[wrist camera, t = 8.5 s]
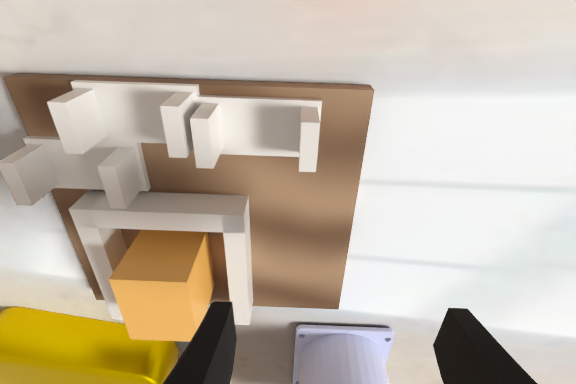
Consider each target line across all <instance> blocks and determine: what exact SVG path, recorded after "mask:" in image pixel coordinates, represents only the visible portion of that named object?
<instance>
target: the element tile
mask: <svg viewBox="0 0 576 384" xmlns="http://www.w3.org/2000/svg"><path fill="white" fill-rule="evenodd" d="M178 352H179V349H178V348H177V347H176V345H175V341H160V340H136V339H130V336H129V333H128V331H127V328H126V325H125V324H120V323H114V322H108V321H102V320H96V319H90V318H84V317H78V316H72V315H66V314H60V313H54V312H48V311H42V310H36V309H30V308H25V307H8V308H6V309H4V310H2V311H1V312H0V384H163V382H164V381H165V379H166V378H167V376H168V375H169V374H170V372H171V371H172V369H173V368H174V366H175V365H176V363H177V362H178Z"/></svg>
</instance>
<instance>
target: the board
mask: <svg viewBox="0 0 576 384" xmlns="http://www.w3.org/2000/svg"><path fill="white" fill-rule="evenodd" d="M4 79H5V82H6V84H7V87H8V89H9V91H10V94H11V96H12V98H13V101H14V103H15V106H16V108H17V110H18V113H19V115H20V118H21V120H22V122H23V125H24V127H25V130H26V132H27V134H28V136H53V137H59V134H58V132H57V129H56V126H55V123H54V121H53V118H52V115H51V113H50V110H49V107H48V104H47V102H48V101H50V100H52V99H55V98H57V97H59V96H61V95H63V94H66V93H68V92H70V91H72V90H73V89H72V85H71V82H72V81H74V80H88V81H117V82H146V83H176V84H199V93H200V95H224V96H253V97H282V98H311V99H322V107H321V120H320V132H319V144H318V156H317V166H316V172H299V157H284V156H256V155H228V154H220V156H219V158H218V160H217V162H216V164H215V166H214V169H210V168H196V161H195V154H194V147H193V149H192V150H191V152H190V153H189V155H188V156H187V158H171V157H169V154H168V149H167V144H163V143H141V148H142V152H143V156H144V161H145V165H146V170H147V174H148V178H149V183H150V187H151V188H150V189H149V191H140V192H163V193H190V194H218V195H245V196H249V217H250V240H251V263H252V286H253V306H270V307H295V308H321V309H338V308H339V302H340V296H341V290H342V283H343V277H344V271H345V265H346V259H347V253H348V247H349V241H350V235H351V229H352V222H353V216H354V210H355V204H356V198H357V192H358V186H359V180H360V174H361V168H362V161H363V155H364V149H365V143H366V137H367V131H368V125H369V119H370V113H371V106H372V100H373V94H374V89H373V88H372V87H371V85H352V84H323V83H293V82H264V81H234V80H205V79H175V78H146V77H117V76H87V75H58V74H28V73H18V74H14V75H11V76H8V77H4ZM88 190H99V189H71V188H53V189H52V190H51V192H52V194H53V197H54V199H55V201H56V204H57V206H58V209H59V211H60V213H61V216H62V218H63V221H64V223H65V225H66V228H67V230H68V233H69V235H70V237H71V240H72V242H73V245H74V247H75V249H76V252H77V254H78V257H79V259H80V261H81V264H82V266H83V269H84V271H85V273H86V276H87V278H88V281H89V283H90V285H91V288H92V290H93V293H94V295H95V297H96V300H105V299H104V297H103V294H102V292H101V289H100V287H99V284H98V282H97V279H96V277H95V274H94V272H93V269H92V267H91V264H90V262H89V259H88V257H87V254H86V252H85V249H84V247H83V244H82V242H81V239H80V237H79V234H78V232H77V229H76V227H75V224H74V221H73V219H72V216H71V214H70V211H69V208H70V207H71V206H73V205H74V204H75V203H76V202H77V201H78V200H79V199H80V198H81V197H82V196H83V195H84V194H85V193H86V192H87V191H88ZM121 231H122V234H123V237H124V240H125V244H126V247H127V250H128V249H129V247H130V246H131V244H132V243H133V241H134V240H135V238H136V237H137V235H138V234H139V232H140V231H141V229H121ZM208 235H209V243H210V251H211V259H212V267H213V274H214V282H215V284H214V288H213V291H212V295H211V299H210V302H209V304H211V303H213V302H214V301H221V302H230V297H229V287H228V277H227V267H226V257H225V247H224V237H223V232H208Z"/></svg>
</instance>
